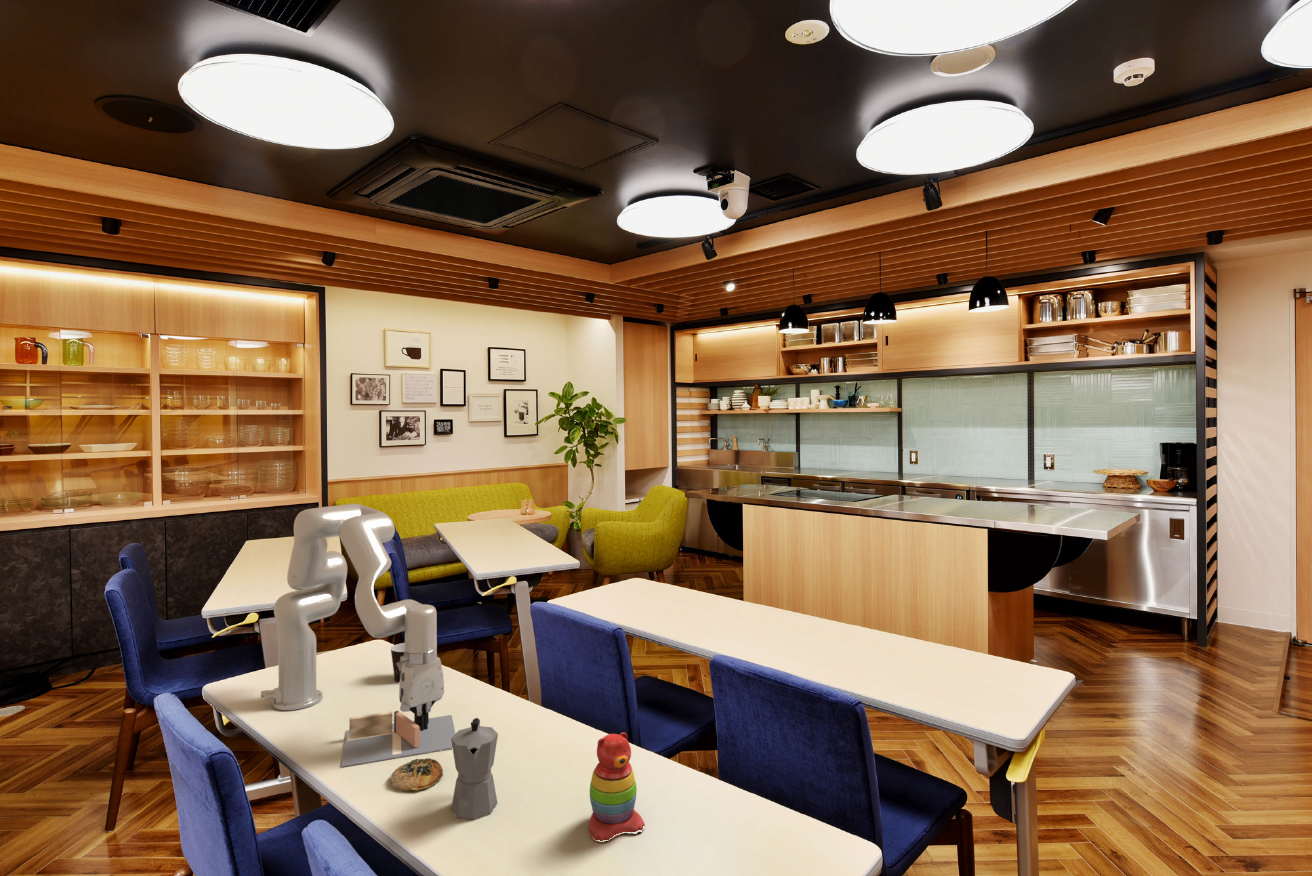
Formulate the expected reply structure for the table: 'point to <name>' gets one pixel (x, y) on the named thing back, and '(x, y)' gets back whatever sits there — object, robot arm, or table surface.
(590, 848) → the table surface
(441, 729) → the card
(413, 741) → the folding fence panel
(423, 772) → the bread roll
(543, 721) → the table surface
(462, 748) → the coffeepot
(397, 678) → the coffee mug
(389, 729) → the fixed fence section
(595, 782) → the stacking bear
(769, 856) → the table surface
